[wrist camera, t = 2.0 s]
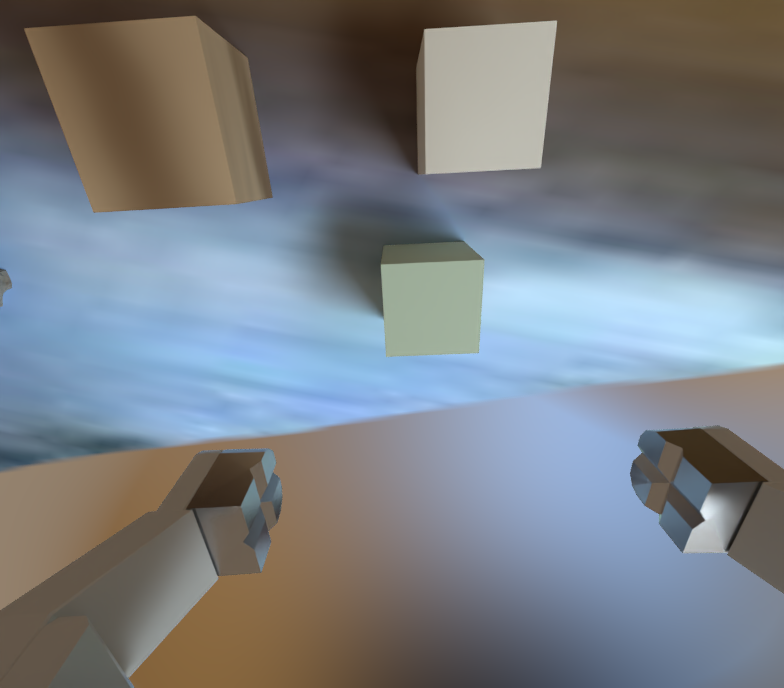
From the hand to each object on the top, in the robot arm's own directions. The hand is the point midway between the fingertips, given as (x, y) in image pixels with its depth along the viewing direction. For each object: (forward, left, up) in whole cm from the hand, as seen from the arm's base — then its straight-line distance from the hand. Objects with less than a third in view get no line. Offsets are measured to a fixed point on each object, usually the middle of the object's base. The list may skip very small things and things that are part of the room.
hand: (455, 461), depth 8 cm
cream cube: (-2, -8, -15) cm, 17 cm away
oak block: (+11, -8, -15) cm, 20 cm away
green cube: (0, 0, -15) cm, 15 cm away
